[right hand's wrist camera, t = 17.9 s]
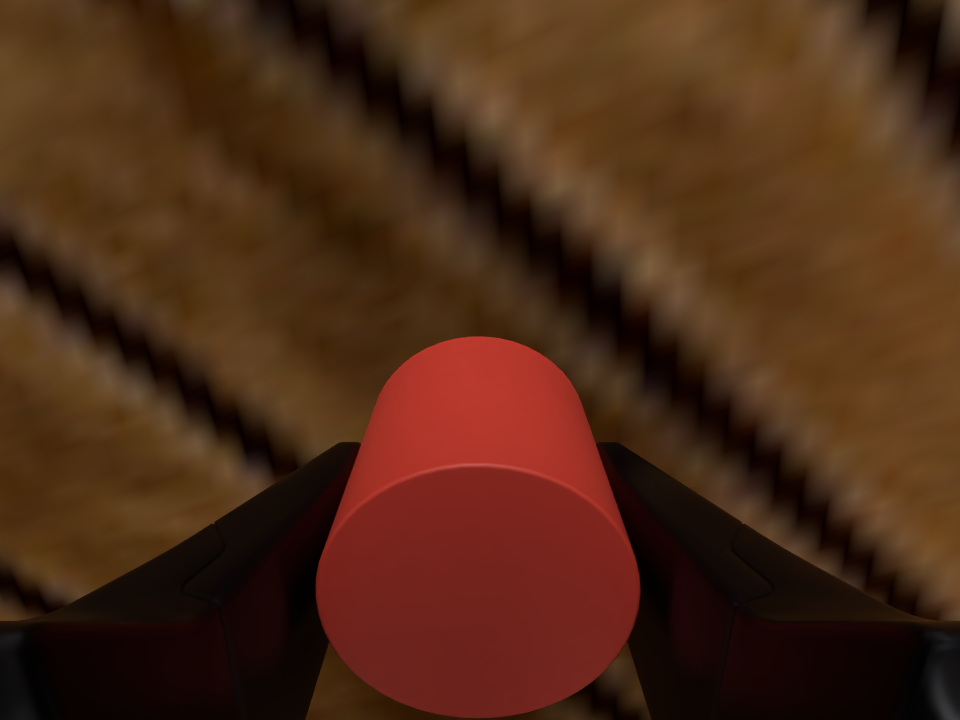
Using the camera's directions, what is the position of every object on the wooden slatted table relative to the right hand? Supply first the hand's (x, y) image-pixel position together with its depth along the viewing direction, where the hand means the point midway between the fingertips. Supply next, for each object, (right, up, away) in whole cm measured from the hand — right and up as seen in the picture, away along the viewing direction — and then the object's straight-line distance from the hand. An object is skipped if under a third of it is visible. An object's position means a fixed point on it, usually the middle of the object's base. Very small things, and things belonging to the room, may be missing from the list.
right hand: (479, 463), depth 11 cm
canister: (0, 0, +1) cm, 1 cm away
